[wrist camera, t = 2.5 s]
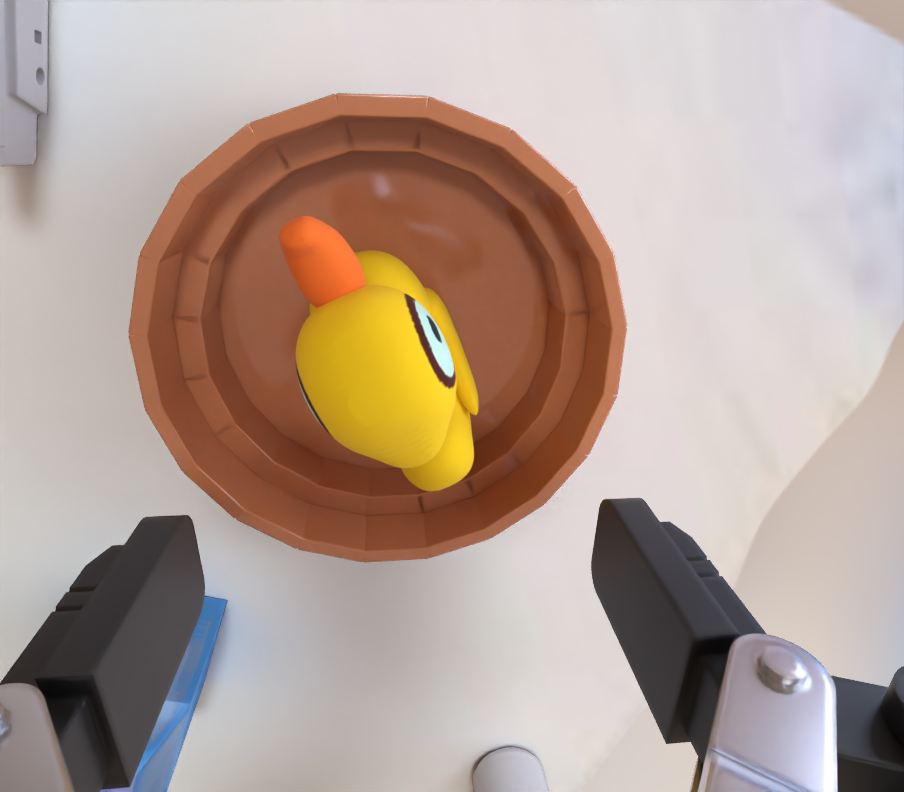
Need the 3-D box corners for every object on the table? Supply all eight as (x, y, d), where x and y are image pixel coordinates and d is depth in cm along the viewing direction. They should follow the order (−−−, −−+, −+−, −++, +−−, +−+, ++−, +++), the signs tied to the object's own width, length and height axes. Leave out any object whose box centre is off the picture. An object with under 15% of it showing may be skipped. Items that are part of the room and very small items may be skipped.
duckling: (262, 225, 22) (177, 277, 13) (384, 167, 22) (383, 179, 13) (388, 450, 27) (388, 603, 18) (491, 405, 27) (545, 537, 18)
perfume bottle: (87, 663, 31) (-78, 945, 20) (102, 576, 29) (-73, 838, 18) (204, 681, 32) (110, 954, 21) (227, 600, 30) (136, 856, 19)
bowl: (217, 496, 28) (180, 573, 23) (148, 101, 21) (71, 85, 16) (560, 481, 29) (595, 549, 24) (599, 113, 23) (660, 101, 18)
